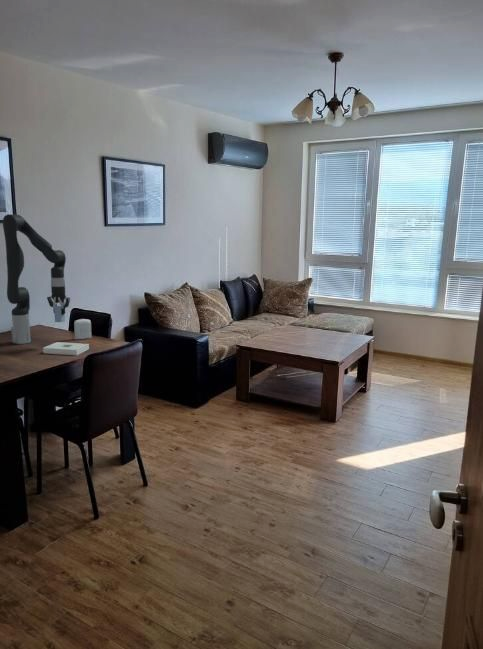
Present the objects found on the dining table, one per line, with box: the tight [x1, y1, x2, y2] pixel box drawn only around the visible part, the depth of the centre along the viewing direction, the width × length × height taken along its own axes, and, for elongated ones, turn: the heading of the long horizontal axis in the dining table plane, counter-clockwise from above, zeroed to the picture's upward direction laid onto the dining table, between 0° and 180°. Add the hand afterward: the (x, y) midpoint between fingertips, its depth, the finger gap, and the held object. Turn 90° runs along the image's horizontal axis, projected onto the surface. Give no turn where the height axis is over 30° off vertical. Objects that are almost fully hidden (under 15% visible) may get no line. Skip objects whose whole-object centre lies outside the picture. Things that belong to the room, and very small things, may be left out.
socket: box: [42, 341, 90, 356], centre depth 270 cm, size 20×14×3 cm
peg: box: [53, 305, 66, 323], centre depth 279 cm, size 4×4×9 cm
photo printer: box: [73, 318, 92, 340], centre depth 300 cm, size 10×4×12 cm, turn 123°
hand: (59, 314), depth 280 cm, fingers closed on peg, 4 cm apart
